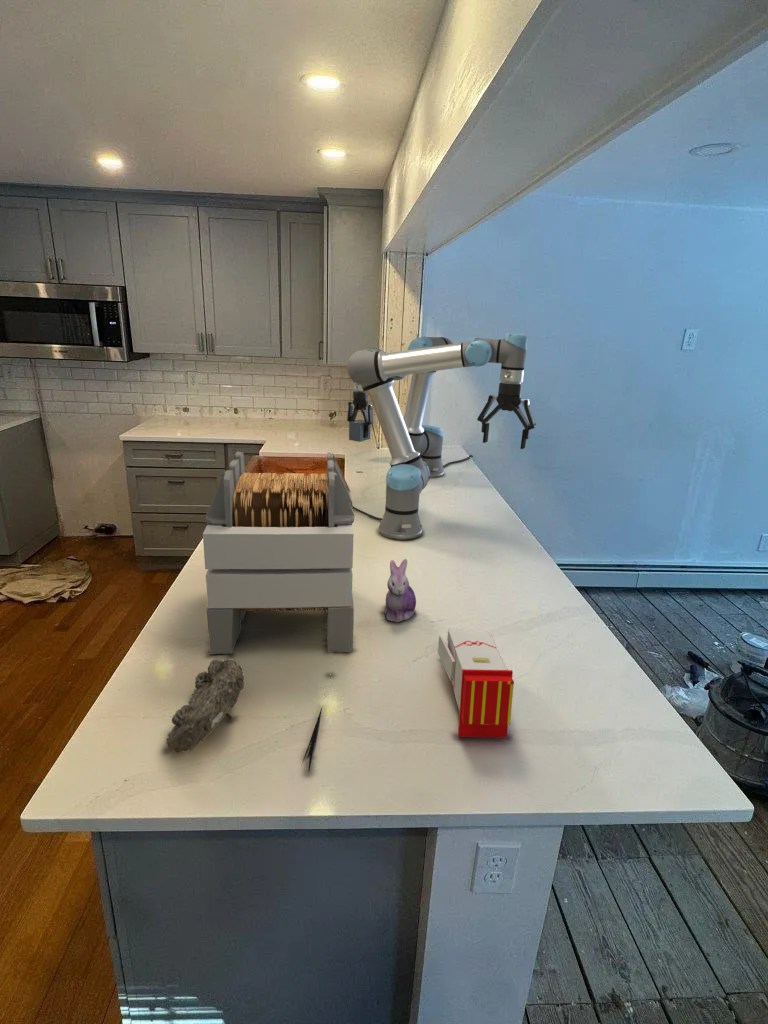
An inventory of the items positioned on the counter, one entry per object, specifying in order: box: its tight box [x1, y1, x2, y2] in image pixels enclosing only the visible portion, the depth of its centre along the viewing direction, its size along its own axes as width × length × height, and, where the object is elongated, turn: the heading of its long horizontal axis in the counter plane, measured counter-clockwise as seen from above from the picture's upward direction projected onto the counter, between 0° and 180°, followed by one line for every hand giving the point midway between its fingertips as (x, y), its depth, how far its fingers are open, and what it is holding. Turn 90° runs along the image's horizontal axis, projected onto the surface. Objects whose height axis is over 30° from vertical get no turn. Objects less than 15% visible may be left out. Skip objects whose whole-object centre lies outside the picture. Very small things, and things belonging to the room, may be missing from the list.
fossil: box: [166, 658, 245, 754], centre depth 106 cm, size 22×10×15 cm
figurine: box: [384, 558, 417, 623], centre depth 145 cm, size 9×10×15 cm
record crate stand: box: [202, 451, 355, 655], centre depth 137 cm, size 34×33×41 cm
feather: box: [301, 673, 332, 771], centre depth 108 cm, size 2×28×2 cm
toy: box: [437, 628, 515, 738], centre depth 117 cm, size 12×13×30 cm
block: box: [348, 419, 372, 443], centre depth 290 cm, size 7×9×9 cm
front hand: (503, 445), depth 195 cm, fingers open, 13 cm apart
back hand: (359, 436), depth 291 cm, fingers closed on block, 7 cm apart
